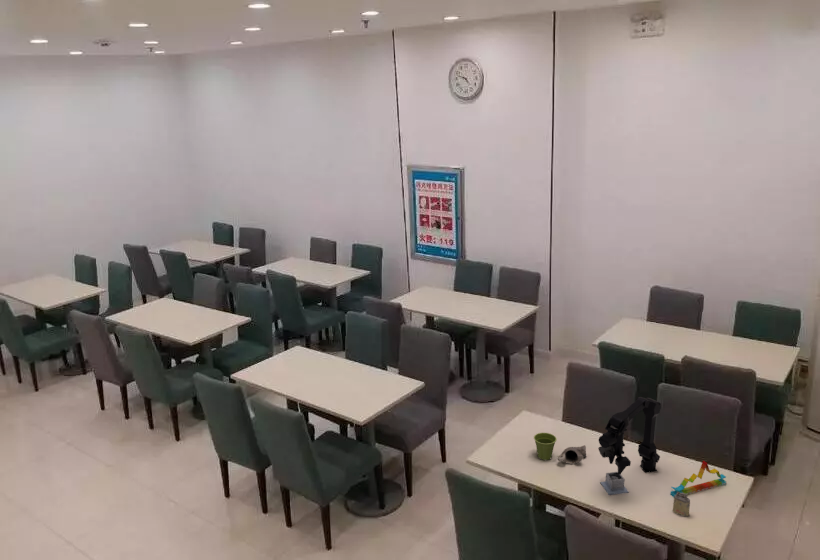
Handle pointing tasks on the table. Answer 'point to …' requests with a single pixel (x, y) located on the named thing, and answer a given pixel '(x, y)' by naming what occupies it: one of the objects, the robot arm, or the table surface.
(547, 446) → the plant pot
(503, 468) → the table surface
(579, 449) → the animal shaped planter
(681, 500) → the old metal can
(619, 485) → the collar
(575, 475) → the table surface
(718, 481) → the multicoloured triangular frame
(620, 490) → the grey peg stand
